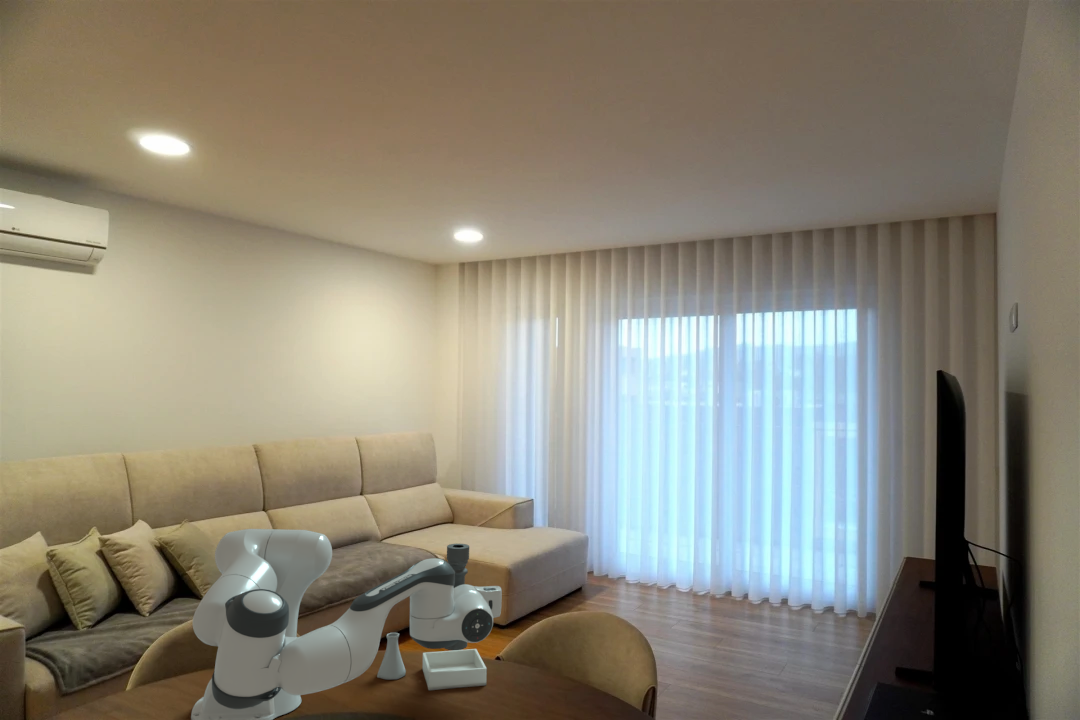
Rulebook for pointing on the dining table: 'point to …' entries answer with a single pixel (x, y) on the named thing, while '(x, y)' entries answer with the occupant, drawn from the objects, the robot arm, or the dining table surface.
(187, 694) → the dining table surface
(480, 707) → the dining table surface
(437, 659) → the box
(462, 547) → the candle holder
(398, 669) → the flask
